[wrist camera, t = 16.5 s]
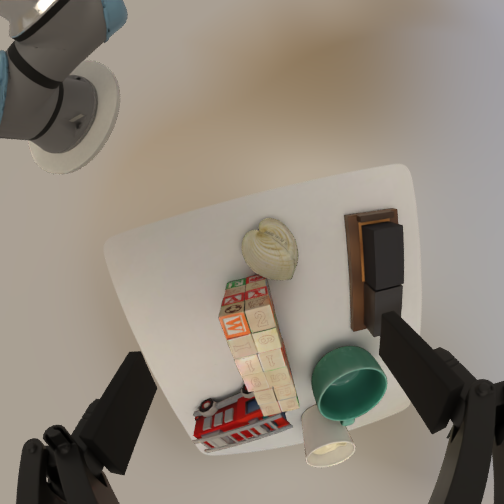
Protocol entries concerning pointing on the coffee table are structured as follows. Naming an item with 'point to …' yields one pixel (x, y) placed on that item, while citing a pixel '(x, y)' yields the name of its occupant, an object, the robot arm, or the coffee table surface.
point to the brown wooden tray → (361, 293)
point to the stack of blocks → (258, 344)
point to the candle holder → (325, 439)
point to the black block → (383, 254)
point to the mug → (347, 384)
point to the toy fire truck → (235, 422)
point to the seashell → (271, 250)
